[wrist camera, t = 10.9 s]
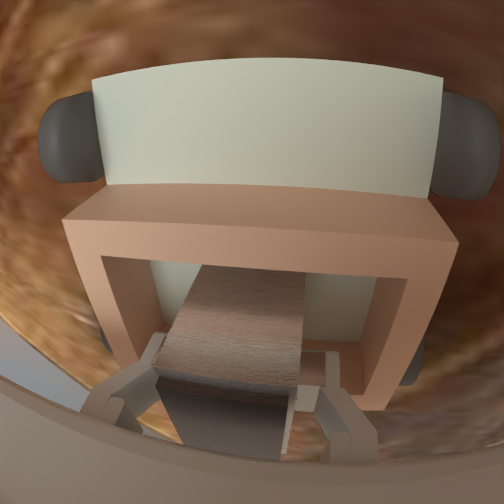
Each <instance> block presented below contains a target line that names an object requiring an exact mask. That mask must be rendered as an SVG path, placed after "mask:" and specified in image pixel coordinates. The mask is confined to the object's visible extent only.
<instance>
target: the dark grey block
mask: <svg viewBox="0 0 504 504" xmlns="http://www.w3.org/2000/svg"><path fill="white" fill-rule="evenodd" d="M305 280H306V272H295V271H281V270H268V269H254V268H241V267H229V266H216V265H204V264H202V266H201V268H200V270H199V272H198V274H197V276H196V278H195V280H194V282H193V284H192V286H191V288H190V290H189V292H188V294H187V296H186V298H185V300H184V302H183V304H182V306H181V308H180V310H179V313H178V315H177V317H176V319H175V321H174V323H173V325H172V327H171V329H170V331H169V333H168V335H167V338H166V340H165V342H164V344H163V346H162V348H161V350H160V352H159V355H158V357H157V359H156V361H155V363H154V365H153V368H154V371H155V373H156V376H157V378H158V380H157V382H156V385H155V387H156V389H157V392H158V394H159V396H160V398H161V400H162V402H163V404H164V406H165V408H166V410H167V413H168V415H169V417H170V419H171V421H172V423H173V425H174V426H175V428H176V430H177V432H178V434H179V436H180V438H181V440H182V442H183V444H184V445H186V446H191V447H195V448H200V449H205V450H210V451H216V452H221V453H227V454H234V455H240V456H247V457H255V458H263V459H272V460H280V456H281V453H282V454H286V451H287V446H288V441H289V435H290V430H291V425H292V419H293V413H294V408H295V402H296V396H297V390H298V380H299V369H300V357H301V344H302V330H303V315H304V299H305Z"/></svg>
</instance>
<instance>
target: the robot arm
mask: <svg viewBox="0 0 504 504" xmlns="http://www.w3.org/2000/svg"><path fill="white" fill-rule="evenodd" d="M167 335H168V333H162V332H155V333H154V334H153V335H152V337H151V339H150V341H149V343H148V345H147V347H146V349H145V351H144V353H143V355H142V357H141V359H140V361H139V362H138V361H135V362H134V363H132V364H130V365H129V366H127V367H126V368H124V369H123V370H121V371H119V372H118V373H116V374H115V375H113V376H111V377H110V378H108V379H107V380H105V381H103V382H102V383H100V384H99V385H97V386H95V387H94V388H92V390H91V392H90V394H89V395H88V397H87V399H86V401H85V403H84V405H83V407H82V409H81V410H80V412H77V411H74V410H72V409H69V408H67V407H64V406H62V405H60V404H57V403H55V402H53V401H51V400H49V399H46V398H44V397H42V396H40V395H38V394H36V393H34V392H32V391H30V390H28V389H26V388H24V387H22V386H20V385H18V384H16V383H14V382H12V381H10V380H9V379H7V378H5V377H3V376H1V375H0V504H504V443H503V444H499V445H495V446H491V447H487V448H482V449H478V450H473V451H468V452H463V453H457V454H451V455H445V456H439V457H431V458H424V459H415V460H405V461H393V462H378V438H377V430H376V429H375V428H374V427H373V425H372V424H371V423H370V421H369V420H368V419H367V417H366V416H365V415H364V413H363V412H362V411H361V410H360V408H359V407H358V406H357V404H356V403H355V402H354V400H353V399H352V398H351V396H350V395H349V394H348V392H347V391H346V390H345V388H340V359H339V352H336V351H322V350H303V349H301V357H300V369H299V380H298V390H297V396H296V402H295V408H294V410H295V411H305V412H314V415H315V417H316V418H317V420H318V422H319V424H320V426H321V427H322V429H323V431H324V433H325V434H326V436H327V438H328V440H329V441H328V444H327V446H326V448H325V450H324V452H323V454H322V456H321V458H320V463H313V462H295V461H283V460H272V459H263V458H255V457H247V456H240V455H234V454H227V453H221V452H216V451H210V450H205V449H200V448H195V447H191V446H186V445H182V444H178V443H174V442H169V441H165V440H161V439H158V438H154V437H150V436H147V435H143V434H142V433H143V429H142V427H141V426H140V424H139V423H138V422H137V420H136V418H138V417H139V416H140V415H141V414H142V413H143V412H145V411H146V410H147V409H148V408H149V407H151V406H152V405H153V404H154V403H155V402H156V401H158V400H159V399H160V396H159V394H158V392H157V389H156V387H155V385H156V382H157V380H158V378H157V376H156V373H155V371H154V368H153V365H154V363H155V361H156V359H157V357H158V355H159V352H160V350H161V348H162V346H163V344H164V342H165V340H166V338H167Z"/></svg>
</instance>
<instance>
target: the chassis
mask: <svg viewBox="0 0 504 504" xmlns="http://www.w3.org/2000/svg"><path fill="white" fill-rule="evenodd" d="M92 88H93V92H84V93H80V94H76V95H72V96H68V97H65V98H61V99H59V100H57V101H55V102H53V103H52V104H51V105H50V106H49V107H48V108H47V110H46V111H45V113H44V115H43V117H42V119H41V122H40V125H39V130H38V139H37V144H38V153H39V157H40V161H41V163H42V166H43V167H44V169H45V171H46V172H47V174H48V175H49V176H50V177H51V178H52V179H54V180H55V181H57V182H60V183H77V182H92V181H96V180H98V179H99V178H101V177H102V176H103V175H104V174H105V177H106V182H107V185H106V186H105V187H103V188H102V189H100V190H99V191H98V192H96V193H95V194H94V195H92V196H91V197H90V198H88V199H87V200H86V201H85V202H83V203H82V204H81V205H79V206H78V207H77V208H76V209H74V210H73V211H72V212H71V213H69V214H68V215H67V216H66V217H64V218H63V219H62V222H63V225H64V229H65V232H66V235H67V238H68V241H69V244H70V247H71V250H72V253H73V256H74V259H75V262H76V265H77V268H78V271H79V273H80V276H81V279H82V281H83V284H84V287H85V289H86V292H87V294H88V297H89V299H90V302H91V304H92V307H93V309H94V311H95V314H96V316H97V318H98V321H99V323H100V325H101V337H102V341H103V343H104V346H105V347H106V349H107V350H108V351H109V352H111V353H114V355H115V357H116V359H117V361H118V363H119V365H120V367H121V369H122V370H123V369H124V368H126V367H127V366H129V365H130V364H132V363H134V362H135V361H138V362H139V361H140V359H141V357H142V355H143V353H144V351H145V349H146V347H147V345H148V343H149V341H150V339H151V337H152V335H153V334H154V333H155V332H162V333H169V331H170V329H171V327H172V325H173V323H174V321H175V319H176V317H177V315H178V313H179V310H180V308H181V306H182V304H183V302H184V300H185V298H186V296H187V294H188V292H189V290H190V288H191V286H192V284H193V282H194V280H195V278H196V276H197V274H198V272H199V270H200V268H201V266H202V264H204V265H216V266H229V267H241V268H254V269H268V270H281V271H295V272H306V280H305V299H304V315H303V330H302V344H301V349H303V350H322V351H336V352H339V359H340V388H345V390H346V391H347V392H348V394H349V395H350V396H351V398H352V399H353V400H354V402H355V403H356V404H357V406H358V407H359V408H360V410H384V409H385V407H386V406H387V404H388V402H389V401H390V399H391V397H392V395H393V394H394V392H395V390H396V388H397V387H398V386H402V385H412V384H413V383H414V382H415V380H416V379H417V377H418V375H419V373H420V370H421V367H422V363H423V358H424V348H425V339H424V333H425V331H426V329H427V327H428V324H429V322H430V320H431V318H432V315H433V313H434V310H435V308H436V306H437V303H438V301H439V298H440V296H441V293H442V291H443V288H444V285H445V283H446V280H447V277H448V275H449V272H450V269H451V266H452V263H453V260H454V258H455V255H456V251H457V248H458V245H459V242H458V240H457V239H456V237H455V236H454V235H453V233H452V232H451V230H450V229H449V227H448V226H447V225H446V223H445V222H444V220H443V219H442V218H441V216H440V215H439V214H438V212H437V211H436V209H435V208H434V207H433V205H432V204H431V203H430V202H429V200H428V199H427V198H428V193H429V188H430V187H431V189H432V191H433V192H434V193H435V194H436V195H438V196H443V197H450V198H457V199H463V200H470V201H477V200H480V199H481V198H483V197H484V196H485V195H486V194H487V193H488V192H489V190H490V189H491V187H492V185H493V183H494V181H495V178H496V176H497V172H498V168H499V163H500V156H501V139H500V132H499V127H498V123H497V120H496V118H495V115H494V113H493V111H492V110H491V109H490V107H489V106H488V105H487V104H486V103H484V102H483V101H481V100H477V99H474V98H470V97H467V96H463V95H459V94H455V93H451V92H446V91H444V92H442V90H443V78H441V77H437V76H433V75H428V74H424V73H419V72H414V71H409V70H403V69H398V68H392V67H386V66H379V65H372V64H364V63H356V62H346V61H336V60H322V59H304V58H240V59H222V60H208V61H198V62H188V63H179V64H172V65H164V66H158V67H151V68H145V69H140V70H134V71H129V72H124V73H119V74H114V75H110V76H105V77H101V78H97V79H93V80H92Z"/></svg>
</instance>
